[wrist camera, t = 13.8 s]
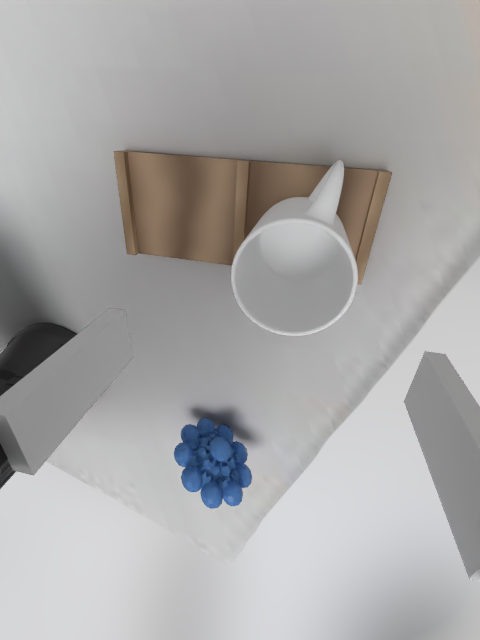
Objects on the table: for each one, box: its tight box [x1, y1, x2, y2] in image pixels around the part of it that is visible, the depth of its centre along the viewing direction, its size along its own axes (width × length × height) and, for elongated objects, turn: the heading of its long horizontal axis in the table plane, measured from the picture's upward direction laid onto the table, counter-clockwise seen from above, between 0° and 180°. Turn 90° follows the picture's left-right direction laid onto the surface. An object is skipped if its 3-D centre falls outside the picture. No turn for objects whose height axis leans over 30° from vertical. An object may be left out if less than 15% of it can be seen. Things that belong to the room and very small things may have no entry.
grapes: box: [174, 418, 252, 508], centre depth 42 cm, size 12×7×12 cm, turn 68°
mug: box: [231, 160, 358, 336], centre depth 25 cm, size 9×12×11 cm
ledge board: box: [114, 151, 392, 285], centre depth 31 cm, size 25×10×2 cm, turn 88°
